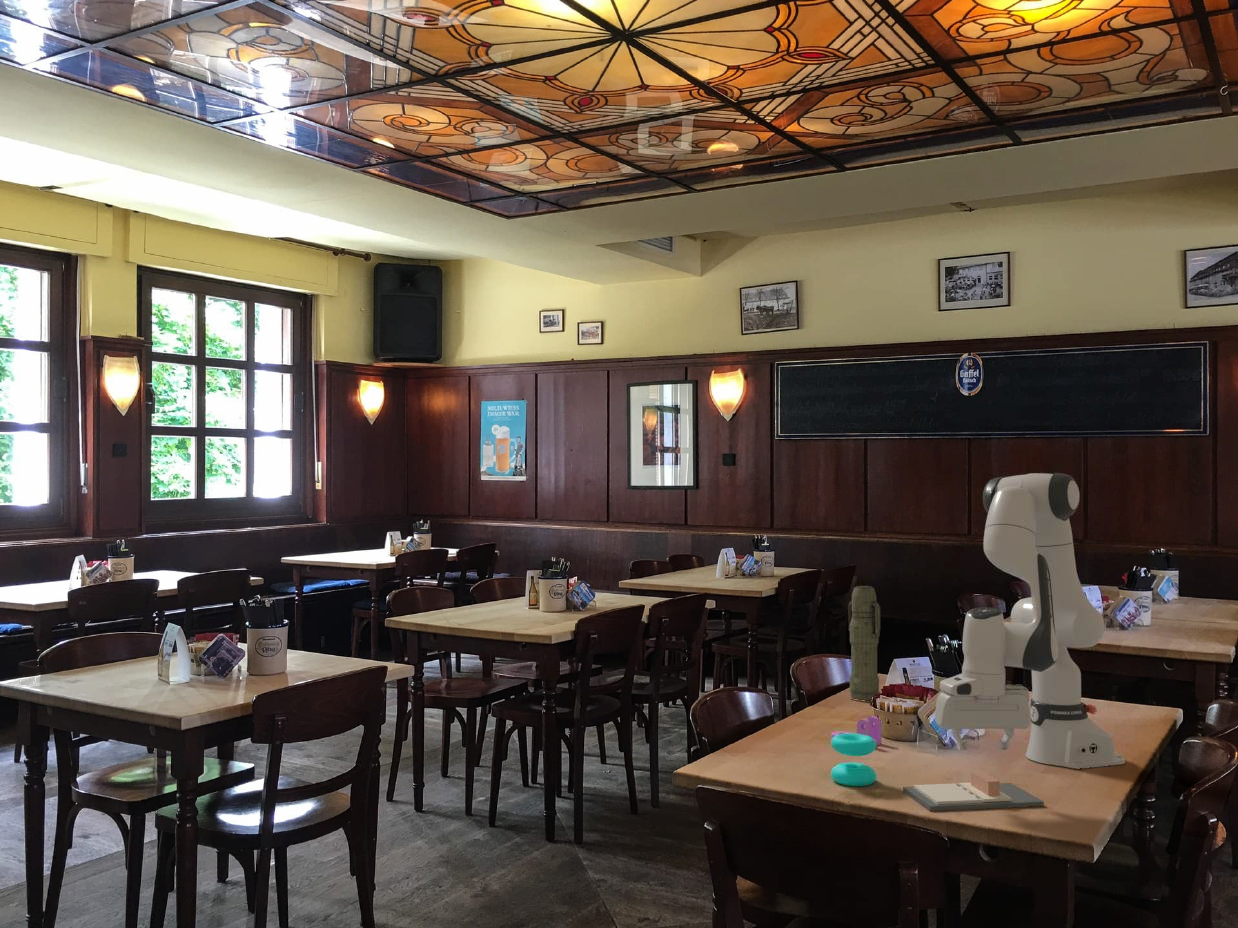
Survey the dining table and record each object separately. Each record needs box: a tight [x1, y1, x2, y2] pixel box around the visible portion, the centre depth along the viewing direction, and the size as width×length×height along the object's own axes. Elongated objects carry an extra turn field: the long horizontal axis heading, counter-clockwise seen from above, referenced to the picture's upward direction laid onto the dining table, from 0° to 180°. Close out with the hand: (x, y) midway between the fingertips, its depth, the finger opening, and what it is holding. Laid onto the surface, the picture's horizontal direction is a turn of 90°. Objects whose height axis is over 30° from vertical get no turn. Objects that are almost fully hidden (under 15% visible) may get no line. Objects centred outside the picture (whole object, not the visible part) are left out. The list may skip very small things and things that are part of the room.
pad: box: [902, 782, 1045, 812], centre depth 228 cm, size 25×14×2 cm, turn 98°
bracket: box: [830, 715, 883, 746], centre depth 278 cm, size 13×6×7 cm, turn 43°
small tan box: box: [957, 770, 1011, 802], centre depth 228 cm, size 6×12×4 cm, turn 7°
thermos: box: [847, 585, 881, 701], centre depth 332 cm, size 9×12×35 cm
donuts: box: [830, 732, 877, 787], centre depth 241 cm, size 10×10×10 cm
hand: (982, 749), depth 228 cm, fingers open, 8 cm apart
